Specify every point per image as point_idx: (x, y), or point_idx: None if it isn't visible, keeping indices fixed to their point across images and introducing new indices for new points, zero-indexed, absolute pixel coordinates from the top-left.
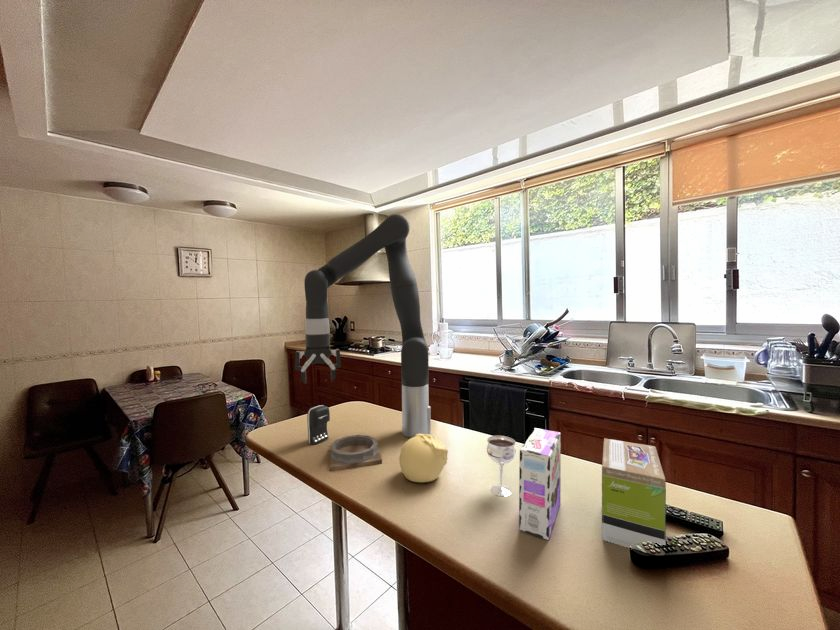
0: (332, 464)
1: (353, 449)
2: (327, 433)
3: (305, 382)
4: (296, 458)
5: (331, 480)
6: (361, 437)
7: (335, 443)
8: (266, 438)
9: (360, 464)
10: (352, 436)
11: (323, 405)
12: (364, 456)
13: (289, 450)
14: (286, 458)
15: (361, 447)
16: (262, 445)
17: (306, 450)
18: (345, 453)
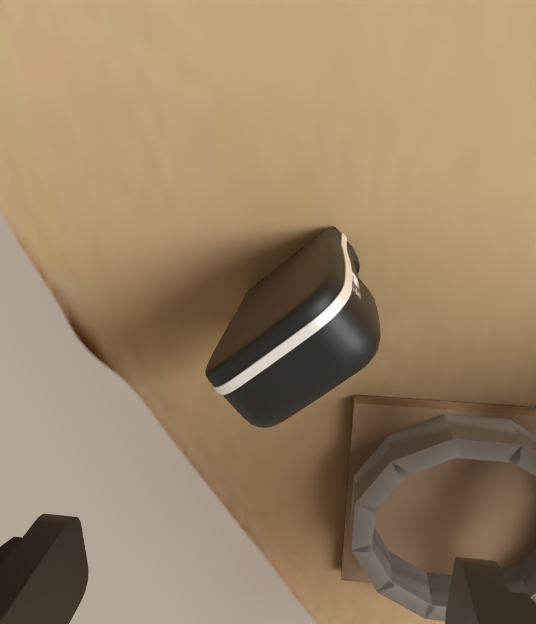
0: (349, 564)
1: (462, 480)
2: (355, 261)
3: (77, 594)
4: (205, 430)
5: (338, 618)
6: (531, 471)
7: (378, 499)
8: (3, 133)
9: None
10: (484, 452)
11: (332, 316)
12: None
13: (162, 341)
14: (163, 415)
15: (507, 476)
16: (15, 232)
17: None
18: (408, 601)
